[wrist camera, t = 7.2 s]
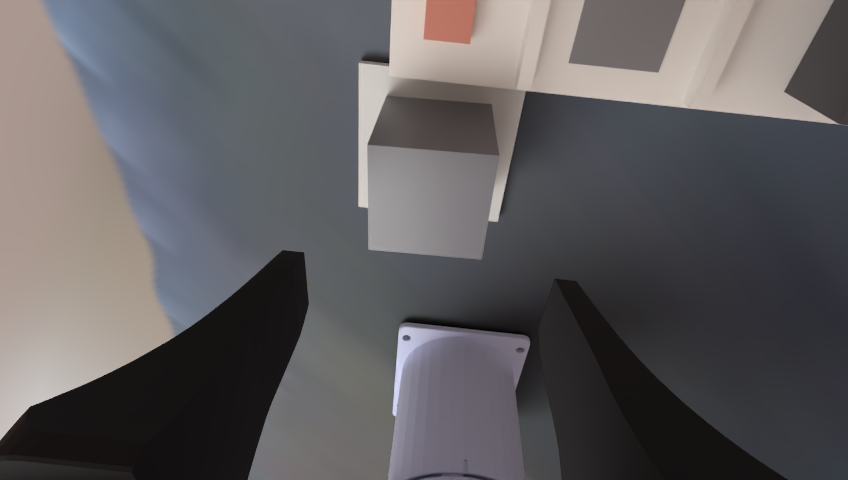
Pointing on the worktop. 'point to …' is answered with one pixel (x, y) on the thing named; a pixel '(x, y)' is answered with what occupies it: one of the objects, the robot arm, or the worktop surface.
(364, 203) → the mat
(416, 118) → the block
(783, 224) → the worktop surface
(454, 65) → the power strip
